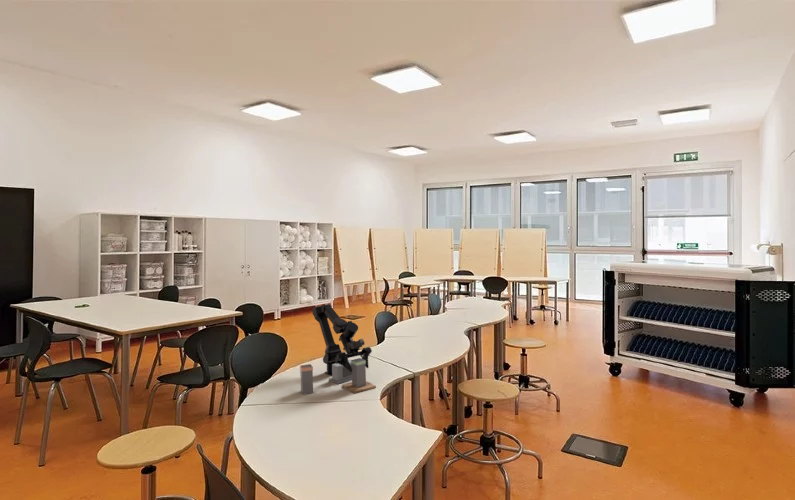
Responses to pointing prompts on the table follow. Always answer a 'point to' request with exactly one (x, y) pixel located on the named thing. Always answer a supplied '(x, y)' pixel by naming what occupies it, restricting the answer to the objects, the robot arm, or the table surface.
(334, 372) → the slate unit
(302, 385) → the block
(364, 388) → the walnut pad
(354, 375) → the block
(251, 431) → the table surface
